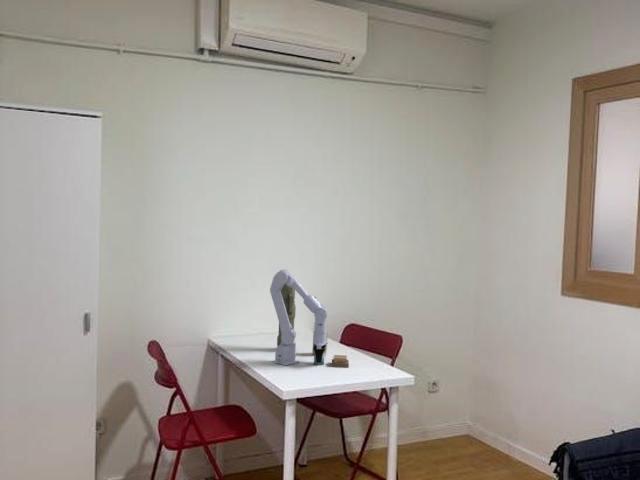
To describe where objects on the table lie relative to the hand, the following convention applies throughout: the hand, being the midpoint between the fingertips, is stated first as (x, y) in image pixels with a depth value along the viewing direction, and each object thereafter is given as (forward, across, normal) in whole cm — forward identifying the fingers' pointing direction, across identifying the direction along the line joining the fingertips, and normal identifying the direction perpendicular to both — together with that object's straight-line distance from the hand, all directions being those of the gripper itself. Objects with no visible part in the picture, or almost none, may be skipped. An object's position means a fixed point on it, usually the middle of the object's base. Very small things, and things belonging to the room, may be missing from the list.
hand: (319, 361), depth 270 cm
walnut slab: (+2, 0, -10) cm, 10 cm away
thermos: (+2, +25, +18) cm, 31 cm away
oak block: (0, 0, -10) cm, 10 cm away
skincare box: (+2, +19, +1) cm, 19 cm away
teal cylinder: (+1, 0, 0) cm, 1 cm away
